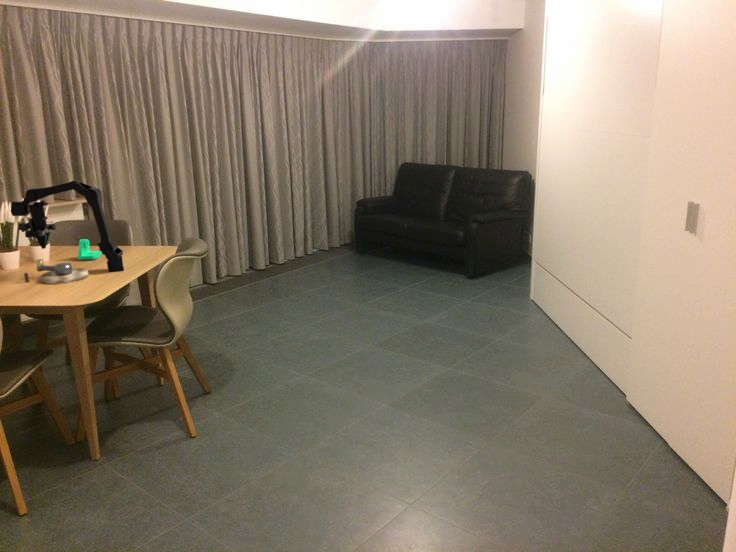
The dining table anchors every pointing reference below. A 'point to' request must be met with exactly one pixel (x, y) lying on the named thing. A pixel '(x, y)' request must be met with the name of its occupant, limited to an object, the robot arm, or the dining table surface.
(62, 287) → the dining table surface
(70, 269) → the knob
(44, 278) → the leveling base
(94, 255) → the camera mount
